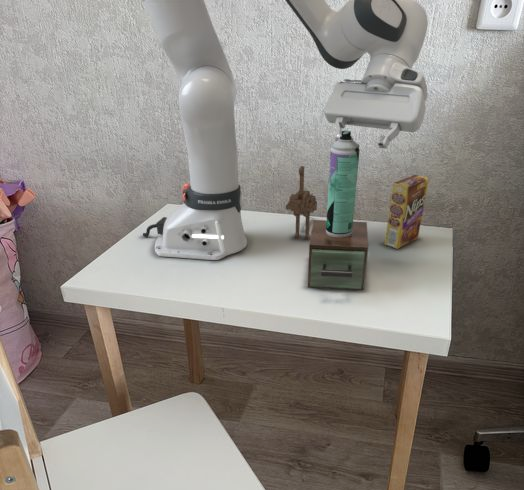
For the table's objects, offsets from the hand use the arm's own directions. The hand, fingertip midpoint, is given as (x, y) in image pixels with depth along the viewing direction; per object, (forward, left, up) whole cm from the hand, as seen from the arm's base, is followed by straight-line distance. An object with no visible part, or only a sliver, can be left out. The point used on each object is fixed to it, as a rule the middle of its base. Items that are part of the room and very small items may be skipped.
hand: (359, 143), depth 106 cm
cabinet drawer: (-4, -9, -25) cm, 27 cm away
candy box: (+14, +12, -26) cm, 32 cm away
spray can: (-4, -5, -17) cm, 18 cm away
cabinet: (-4, -5, -26) cm, 27 cm away
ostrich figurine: (-9, +20, -26) cm, 34 cm away
